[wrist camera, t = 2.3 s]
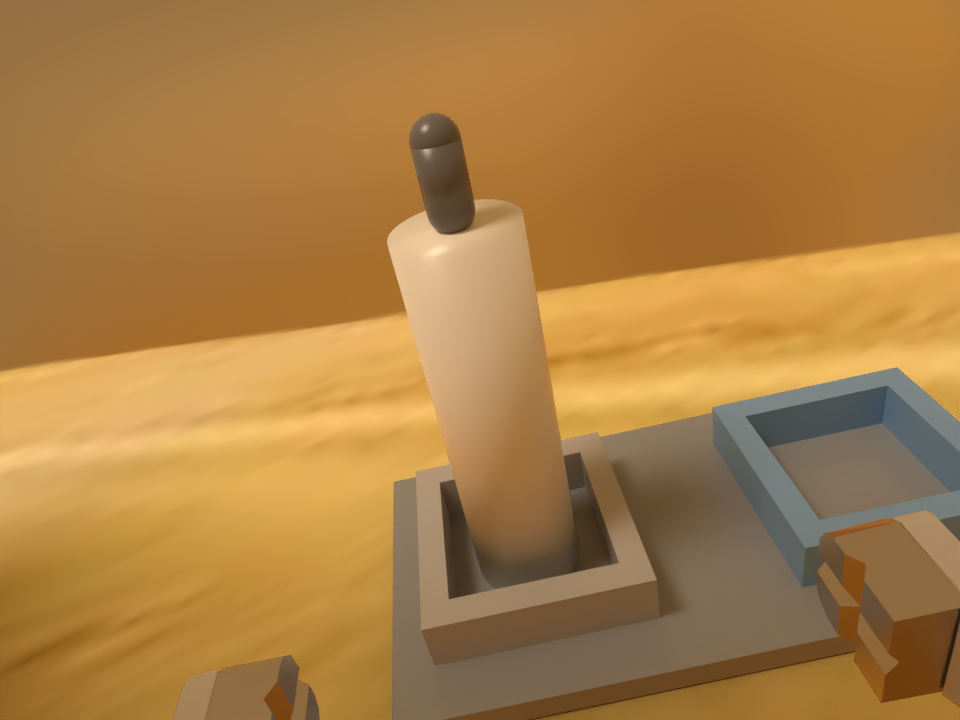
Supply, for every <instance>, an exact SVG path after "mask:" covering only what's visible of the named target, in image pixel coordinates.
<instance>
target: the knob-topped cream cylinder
mask: <svg viewBox="0 0 960 720" xmlns="http://www.w3.org/2000/svg"><path fill="white" fill-rule="evenodd" d="M409 143H410V149H411V153H412V157H413V161H414V165H415V169H416V173H417V177H418V181H419V185H420V189H421V193H422V197H423V201H424V206H425V210H426V211H424V212H422V213H419V214H417V215H415V216H413V217H411V218H409V219H407V220H406V221H404V222H402V223H401V224H400V225H398V226H397V227H396V228H395V229H394V230H393V231H392V232H391V233H390V235H389V237H388V240H387V244H388V248H389V252H390V255H391V259H392V262H393V266H394V269H395V273H396V276H397V280H398V283H399V286H400V290H401V294H402V297H403V301H404V304H405V308H406V311H407V315H408V318H409V322H410V325H411V329H412V332H413V336H414V339H415V343H416V346H417V350H418V353H419V357H420V360H421V364H422V367H423V371H424V374H425V378H426V381H427V385H428V388H429V392H430V395H431V399H432V402H433V406H434V409H435V413H436V416H437V420H438V423H439V427H440V430H441V434H442V437H443V441H444V444H445V448H446V451H447V455H448V458H449V462H450V465H451V469H452V472H453V476H454V479H455V483H456V486H457V490H458V493H459V497H460V500H461V504H462V507H463V511H464V514H465V518H466V521H467V525H468V528H469V532H470V535H471V539H472V542H473V546H474V549H475V553H476V556H477V560H478V563H479V567H480V570H481V573H482V575H483V577H484V578H485V580H486V581H487V582H488V583H489V584H490V585H491V586H492V587H493V588H495V589H500V588H505V587H509V586H514V585H519V584H523V583H528V582H533V581H537V580H542V579H547V578H551V577H556V576H561V575H565V574H570V573H573V571H574V570H575V568H576V566H577V563H578V560H579V545H578V539H577V533H576V527H575V521H574V515H573V509H572V504H571V498H570V492H569V486H568V480H567V474H566V468H565V462H564V456H563V450H562V444H561V438H560V432H559V426H558V420H557V414H556V408H555V402H554V396H553V390H552V384H551V378H550V372H549V366H548V360H547V354H546V348H545V342H544V336H543V330H542V325H541V319H540V313H539V307H538V301H537V295H536V289H535V284H534V277H533V271H532V265H531V259H530V253H529V247H528V241H527V235H526V229H525V223H524V217H523V213H522V211H521V209H520V208H519V207H518V206H516V205H515V204H513V203H510V202H506V201H501V200H491V199H481V200H474V198H473V194H472V188H471V183H470V179H469V174H468V169H467V164H466V159H465V154H464V150H463V145H462V140H461V135H460V132H459V129H458V127H457V125H456V124H455V123H454V122H453V121H452V120H451V119H450V118H449V117H447V116H445V115H443V114H439V113H430V114H426V115H424V116H422V117H421V118H419V119H418V120H417V121H416V122H415V124H414V125H413V127H412V129H411V131H410V135H409Z"/></svg>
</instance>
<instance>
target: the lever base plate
mask: <svg viewBox="0 0 960 720" xmlns="http://www.w3.org/2000/svg"><path fill="white" fill-rule="evenodd" d="M561 444H562V450H563V456H564V462H565V468H566V474H567V480H568V486H569V492H570V498H571V504H572V509H573V515H574V521H575V527H576V533H577V539H578V545H579V560H578V563H577V566H576V568H575V570H574V571H573V573H570V574H565V575H561V576H556V577H551V578H547V579H542V580H537V581H533V582H528V583H523V584H519V585H514V586H509V587H505V588H500V589H495V588H493V587H492V586H491V585H490V584H489V583H488V582H487V581H486V580H485V578H484V577H483V575H482V573H481V570H480V567H479V563H478V560H477V556H476V553H475V549H474V546H473V542H472V539H471V535H470V532H469V528H468V525H467V521H466V518H465V514H464V511H463V507H462V504H461V500H460V497H459V493H458V490H457V486H456V483H455V479H454V476H453V472H452V469H451V465H445V466H440V467H436V468H431V469H427V470H422V471H417V472H416V477H415V478H410V479H406V480H401V481H396V482H394V543H393V708H392V720H530V719H535V718H539V717H544V716H549V715H554V714H558V713H563V712H568V711H573V710H577V709H582V708H587V707H592V706H596V705H601V704H606V703H611V702H615V701H620V700H625V699H630V698H634V697H639V696H644V695H649V694H653V693H658V692H663V691H667V690H672V689H677V688H682V687H686V686H691V685H696V684H701V683H705V682H710V681H715V680H720V679H724V678H729V677H734V676H739V675H743V674H748V673H753V672H758V671H762V670H767V669H772V668H777V667H781V666H786V665H791V664H796V663H800V662H805V661H810V660H815V659H819V658H824V657H829V656H834V655H838V654H843V653H848V652H853V651H855V648H856V645H855V644H854V643H852V642H850V641H848V640H847V639H845V638H843V637H842V636H840V635H838V634H837V633H836V631H835V630H834V628H833V626H832V625H831V623H830V621H829V620H828V618H827V616H826V614H825V611H824V609H823V607H822V605H821V601H820V598H819V594H818V590H817V571H818V570H819V568H820V567H821V566H822V565H823V564H824V563H825V560H824V559H823V557H822V556H821V554H820V553H819V551H818V549H819V539H820V538H821V536H822V535H823V533H827V532H831V531H835V530H839V529H843V528H848V527H852V526H856V525H860V524H864V523H868V522H872V521H877V520H881V519H885V518H888V519H890V518H893V517H897V516H902V515H906V514H910V513H915V512H919V511H925V510H926V511H928V512H930V513H932V514H934V515H935V516H936V517H937V518H938V519H939V520H940V521H941V522H942V523H943V524H944V525H945V526H946V528H947V529H948V530H949V531H950V532H951V533H952V534H953V535H954V536H955V537H956V538H957V539H958V540H959V541H960V422H959V421H958V420H957V419H956V418H954V417H953V416H952V415H951V414H950V413H949V412H948V411H946V410H945V409H944V408H943V407H942V406H941V405H940V404H938V403H937V402H936V401H935V400H934V399H933V398H932V397H930V396H929V395H928V394H927V393H926V392H925V391H924V390H922V389H921V388H920V387H919V386H918V385H917V384H915V383H914V382H913V381H912V380H911V379H910V378H909V377H907V376H906V375H905V374H904V373H903V372H902V371H901V370H899V369H898V368H897V367H896V368H892V369H887V370H883V371H878V372H873V373H869V374H864V375H860V376H855V377H850V378H846V379H841V380H837V381H832V382H827V383H823V384H818V385H813V386H809V387H804V388H800V389H795V390H790V391H786V392H781V393H777V394H772V395H767V396H763V397H758V398H754V399H749V400H744V401H740V402H735V403H731V404H726V405H721V406H717V407H712V413H710V414H705V415H700V416H696V417H691V418H687V419H682V420H677V421H673V422H668V423H664V424H659V425H654V426H650V427H645V428H641V429H636V430H631V431H627V432H622V433H618V434H613V435H608V436H604V437H600V436H599V434H598V432H597V433H592V434H588V435H583V436H579V437H574V438H569V439H565V440H561Z"/></svg>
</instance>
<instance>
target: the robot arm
mask: <svg viewBox="0 0 960 720" xmlns="http://www.w3.org/2000/svg"><path fill="white" fill-rule="evenodd" d="M818 551H819V553H820V554H821V556H822V557H823V559H824V560H825V563H824V564H823V565H822V566H821V567H820V568H819V570H818V571H817V590H818V594H819V598H820V601H821V605H822V607H823V609H824V611H825V614H826V616H827V618H828V620H829V621H830V623H831V625H832V626H833V628H834V630H835V631H836V633H837V634H838V635H840V636H842V637H843V638H845V639H847V640H848V641H850V642H852V643H854V644H855V645H856V648H855V658H854V661H855V663H856V665H857V666H858V668H859V669H860V671H861V672H862V674H863V676H864V677H865V679H866V680H867V682H868V683H869V685H870V686H871V688H872V690H873V691H874V693H875V694H876V696H877V697H878V699H879V701H880V702H881V703H884V702H889V701H894V700H899V699H905V698H910V697H915V696H921V695H926V694H931V693H936V692H942V691H943V692H942V695H943V696H944V697H946V698H947V699H949V700H950V701H952V702H953V703H954V704H956V705H957V706H959V707H960V541H959V540H958V539H957V538H956V537H955V536H954V535H953V534H952V533H951V532H950V531H949V530H948V529H947V528H946V526H945V525H944V524H943V523H942V522H941V521H940V520H939V519H938V518H937V517H936V516H935V515H934V514H932V513H930V512H928V511H926V510H925V511H919V512H915V513H910V514H906V515H902V516H897V517H893V518H890V519H888V518H885V519H881V520H877V521H872V522H868V523H864V524H860V525H856V526H852V527H848V528H843V529H839V530H835V531H831V532H827V533H823V535H822V536H821V538H820V539H819V549H818ZM298 672H299V667H298V665H297V664H296V662H295V661H294V659H293V658H292V656H291V655H289V656H284V657H279V658H273V659H268V660H263V661H258V662H253V663H248V664H243V665H238V666H233V667H228V668H223V669H218V670H213V671H209V672H204V673H200V674H195V675H190V677H189V678H188V680H187V681H186V683H185V684H184V686H183V687H182V691H181V694H180V697H179V701H178V704H177V708H176V711H175V714H174V718H173V720H320V719H319V708H318V705H317V702H316V698H315V695H314V693H313V691H312V689H311V688H310V686H309V685H308V684H305V683H303V682H301V681H299V680H298Z"/></svg>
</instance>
